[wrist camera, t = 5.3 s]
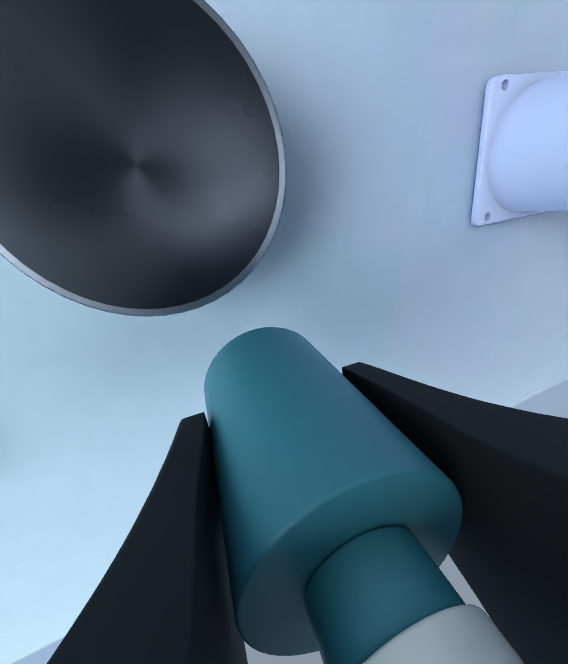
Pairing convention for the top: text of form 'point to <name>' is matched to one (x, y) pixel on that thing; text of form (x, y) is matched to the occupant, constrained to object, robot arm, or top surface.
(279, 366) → the bottle
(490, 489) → the robot arm
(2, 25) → the round lidded tin
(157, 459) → the top surface
